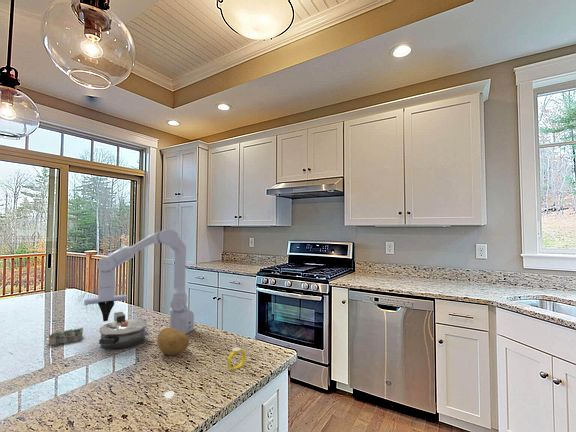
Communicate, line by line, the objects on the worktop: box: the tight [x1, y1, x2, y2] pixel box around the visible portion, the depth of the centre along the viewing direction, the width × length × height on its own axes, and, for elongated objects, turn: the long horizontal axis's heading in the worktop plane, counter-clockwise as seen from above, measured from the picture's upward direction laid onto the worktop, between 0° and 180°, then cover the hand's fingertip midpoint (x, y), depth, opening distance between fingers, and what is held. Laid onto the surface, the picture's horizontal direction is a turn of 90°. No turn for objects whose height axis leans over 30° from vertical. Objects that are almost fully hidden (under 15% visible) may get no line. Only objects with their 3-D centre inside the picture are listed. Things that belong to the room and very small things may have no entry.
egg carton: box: [48, 326, 84, 346], centre depth 115 cm, size 11×8×4 cm
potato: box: [156, 327, 190, 356], centre depth 104 cm, size 10×14×8 cm
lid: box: [99, 311, 148, 336], centre depth 116 cm, size 22×16×3 cm
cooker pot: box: [98, 319, 147, 351], centre depth 115 cm, size 24×15×5 cm, turn 178°
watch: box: [227, 346, 246, 371], centre depth 93 cm, size 6×3×6 cm, turn 136°
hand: (105, 320), depth 119 cm, fingers closed
